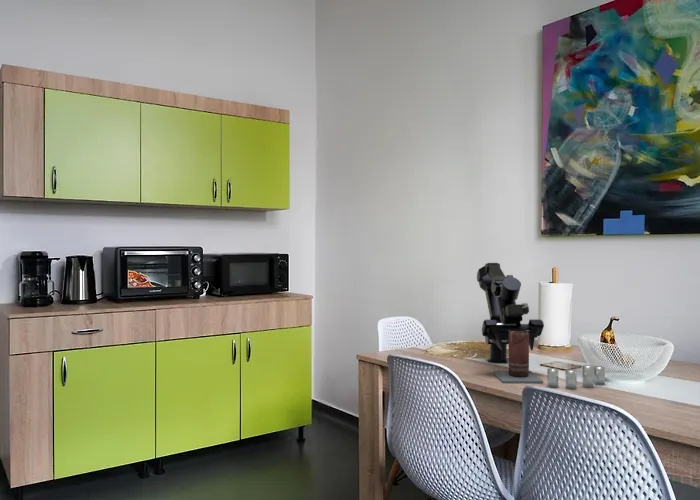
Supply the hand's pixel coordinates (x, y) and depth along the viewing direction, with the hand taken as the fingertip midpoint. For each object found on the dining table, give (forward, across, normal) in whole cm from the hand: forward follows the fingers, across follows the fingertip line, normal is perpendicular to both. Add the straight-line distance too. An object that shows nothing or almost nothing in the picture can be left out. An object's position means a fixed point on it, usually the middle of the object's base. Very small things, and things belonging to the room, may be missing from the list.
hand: (517, 349), depth 179 cm
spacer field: (+13, +17, 0) cm, 21 cm away
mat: (+6, 0, +6) cm, 9 cm away
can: (+5, 0, +6) cm, 8 cm away
